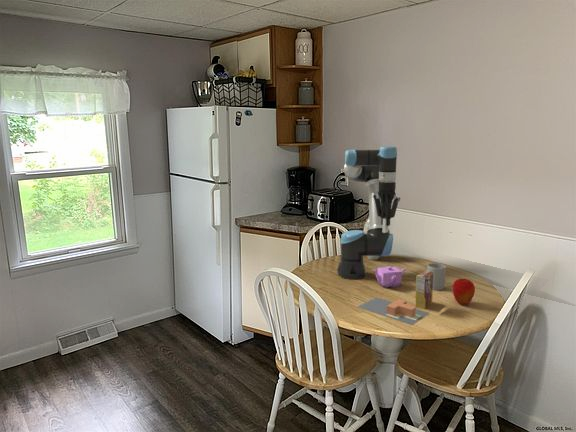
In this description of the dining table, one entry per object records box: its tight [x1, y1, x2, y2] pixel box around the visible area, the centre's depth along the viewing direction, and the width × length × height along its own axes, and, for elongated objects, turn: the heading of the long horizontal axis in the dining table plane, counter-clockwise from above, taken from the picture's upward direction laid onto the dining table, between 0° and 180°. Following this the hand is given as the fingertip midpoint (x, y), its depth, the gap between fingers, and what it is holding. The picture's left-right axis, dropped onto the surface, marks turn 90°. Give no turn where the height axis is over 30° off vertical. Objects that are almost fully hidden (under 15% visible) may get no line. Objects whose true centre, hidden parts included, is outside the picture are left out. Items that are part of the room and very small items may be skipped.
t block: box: [387, 298, 417, 318], centre depth 186 cm, size 10×10×4 cm
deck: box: [357, 297, 430, 326], centre depth 189 cm, size 26×15×1 cm, turn 47°
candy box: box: [415, 269, 434, 310], centre depth 193 cm, size 9×4×15 cm, turn 140°
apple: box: [452, 278, 476, 306], centre depth 197 cm, size 9×9×12 cm
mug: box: [426, 262, 447, 291], centre depth 218 cm, size 12×8×11 cm
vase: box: [362, 216, 381, 261], centre depth 262 cm, size 13×13×28 cm
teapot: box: [371, 265, 408, 289], centre depth 218 cm, size 18×13×10 cm
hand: (385, 232), depth 206 cm, fingers closed
